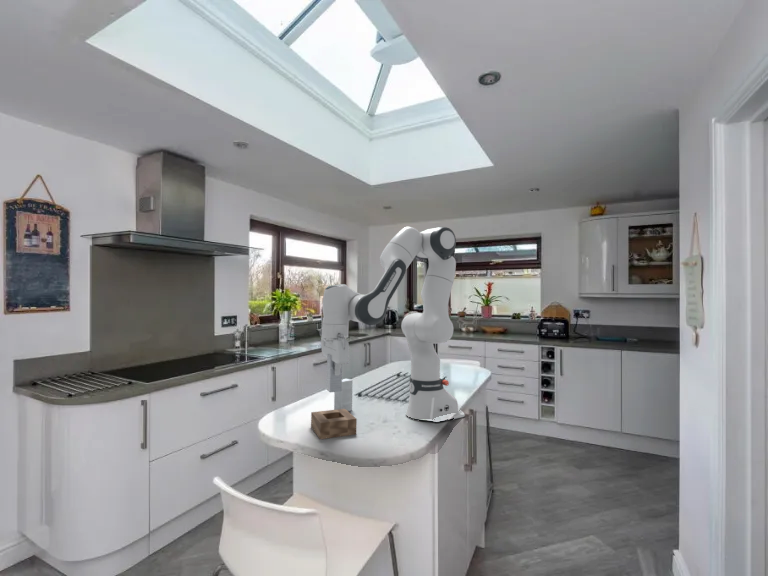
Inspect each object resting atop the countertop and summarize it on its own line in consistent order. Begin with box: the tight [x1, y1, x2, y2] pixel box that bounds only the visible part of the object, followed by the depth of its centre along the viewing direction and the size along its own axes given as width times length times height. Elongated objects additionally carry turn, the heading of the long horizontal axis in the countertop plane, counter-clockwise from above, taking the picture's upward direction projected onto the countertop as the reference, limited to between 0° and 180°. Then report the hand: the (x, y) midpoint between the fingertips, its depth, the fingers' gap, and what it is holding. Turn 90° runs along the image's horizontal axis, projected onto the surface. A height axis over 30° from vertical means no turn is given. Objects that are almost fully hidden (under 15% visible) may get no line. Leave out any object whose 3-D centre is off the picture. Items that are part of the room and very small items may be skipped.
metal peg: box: [326, 354, 343, 393], centre depth 125 cm, size 4×4×12 cm
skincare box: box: [333, 378, 353, 412], centre depth 147 cm, size 6×4×12 cm
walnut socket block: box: [310, 409, 358, 440], centre depth 125 cm, size 12×12×5 cm
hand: (334, 373), depth 125 cm, fingers closed on metal peg, 4 cm apart
